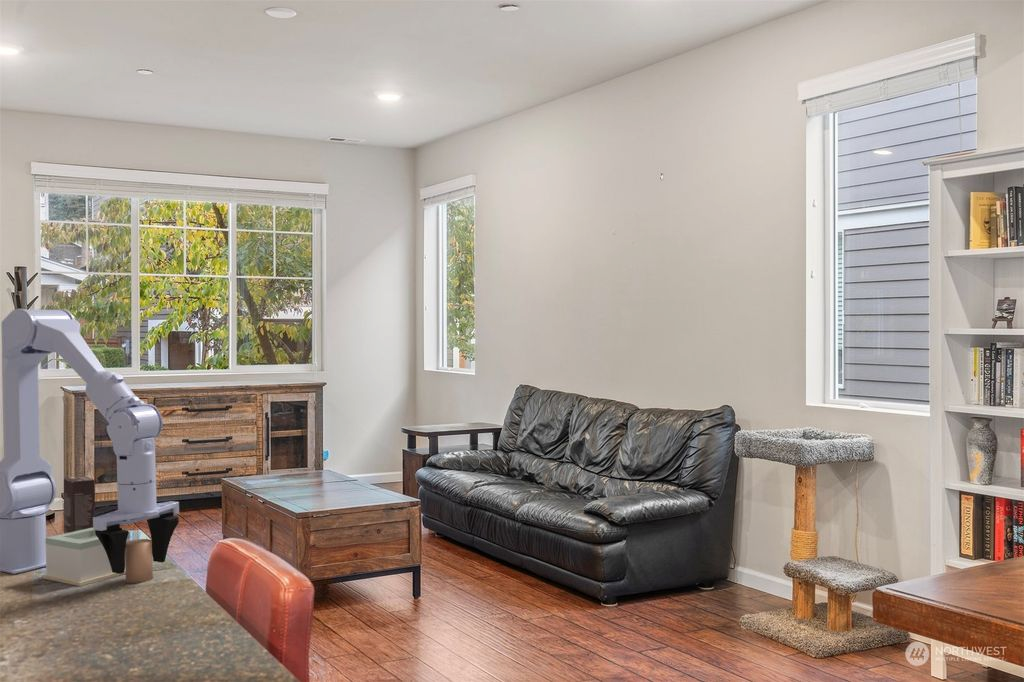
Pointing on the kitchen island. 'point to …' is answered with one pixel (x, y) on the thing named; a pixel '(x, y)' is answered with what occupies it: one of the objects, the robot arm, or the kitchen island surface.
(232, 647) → the kitchen island surface
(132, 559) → the peg
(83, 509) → the box
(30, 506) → the robot arm
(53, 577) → the socket
